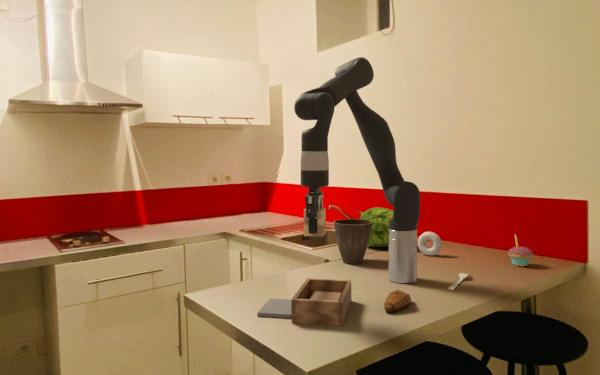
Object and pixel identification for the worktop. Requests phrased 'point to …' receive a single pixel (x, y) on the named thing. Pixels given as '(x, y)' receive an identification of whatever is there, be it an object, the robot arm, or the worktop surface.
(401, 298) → the croissant
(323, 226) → the maple block
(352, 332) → the worktop surface
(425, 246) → the donut
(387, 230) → the lettuce
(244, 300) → the worktop surface
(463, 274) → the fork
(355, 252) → the plant pot
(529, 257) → the cupcake
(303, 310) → the walnut crate
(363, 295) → the worktop surface
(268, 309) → the plate
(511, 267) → the worktop surface
